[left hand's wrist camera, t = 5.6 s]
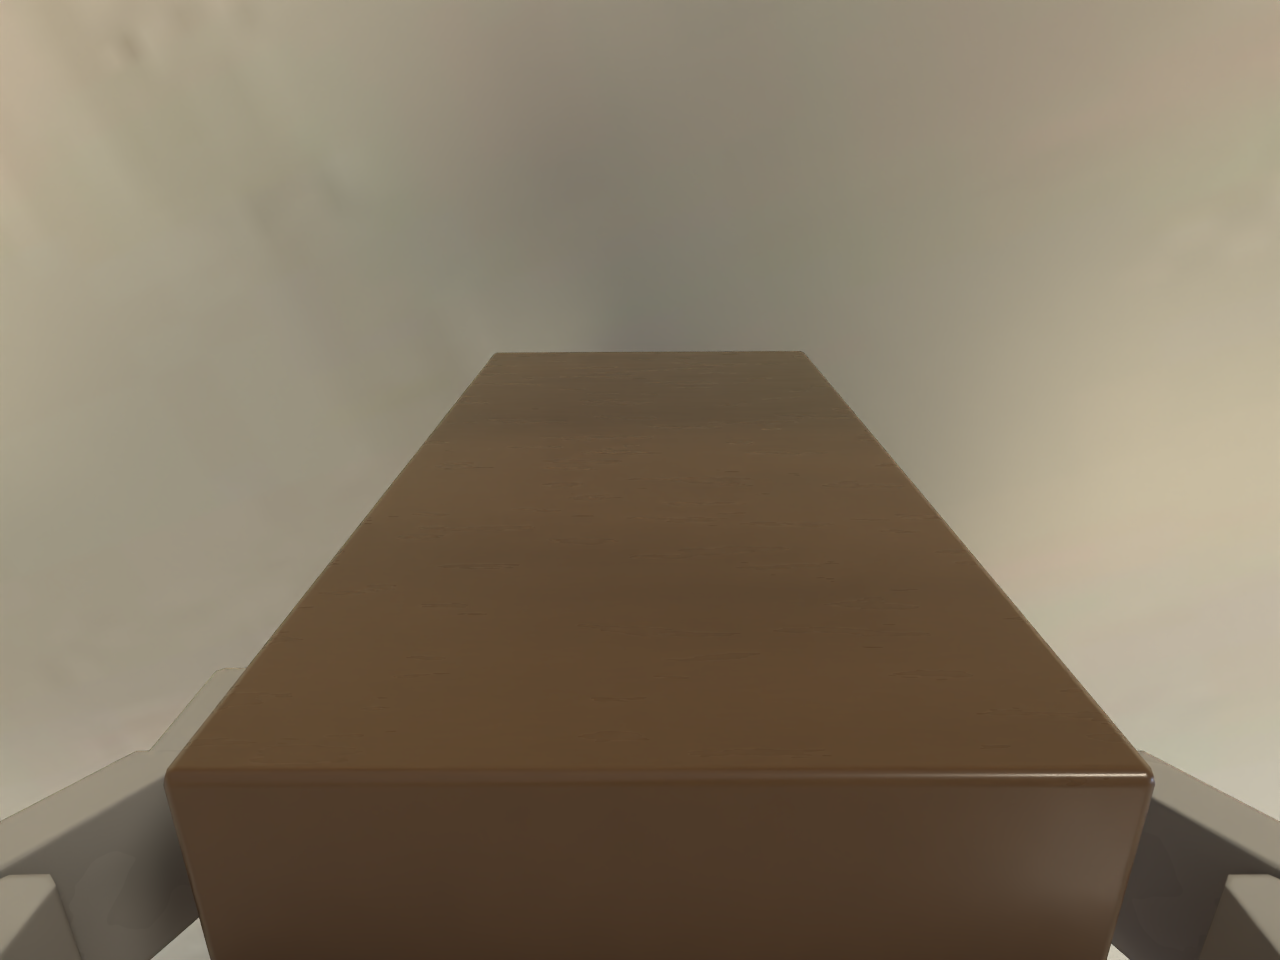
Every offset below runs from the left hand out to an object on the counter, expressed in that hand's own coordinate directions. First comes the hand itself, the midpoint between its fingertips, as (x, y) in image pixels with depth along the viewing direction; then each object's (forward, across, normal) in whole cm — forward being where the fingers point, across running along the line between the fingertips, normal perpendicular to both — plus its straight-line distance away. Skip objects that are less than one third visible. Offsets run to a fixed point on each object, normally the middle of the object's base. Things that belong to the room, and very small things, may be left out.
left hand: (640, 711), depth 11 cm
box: (+6, 0, +7) cm, 10 cm away
